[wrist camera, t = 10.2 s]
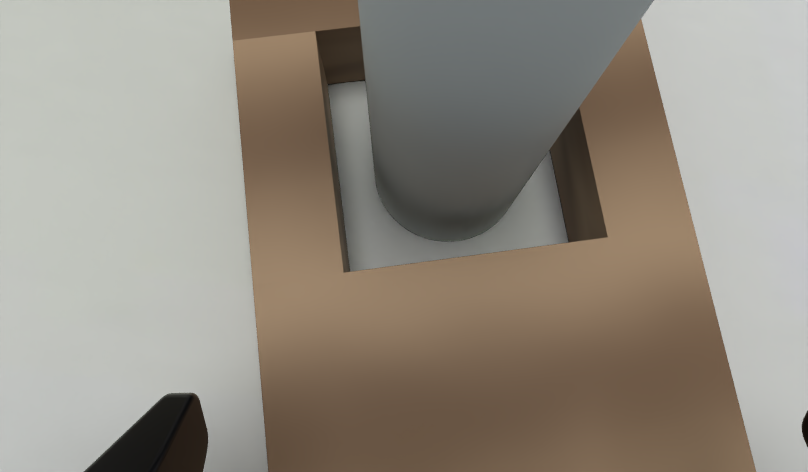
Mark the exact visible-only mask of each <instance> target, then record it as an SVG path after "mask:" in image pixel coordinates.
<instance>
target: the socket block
mask: <svg viewBox="0 0 808 472" xmlns="http://www.w3.org/2000/svg"><path fill="white" fill-rule="evenodd" d="M229 1H230V13H231V25H232V37H233V50H234V62H235V74H236V86H237V98H238V110H239V122H240V134H241V146H242V158H243V170H244V182H245V194H246V206H247V219H248V231H249V243H250V255H251V267H252V279H253V291H254V303H255V315H256V327H257V339H258V351H259V363H260V375H261V387H262V400H263V412H264V424H265V436H266V448H267V460H268V472H756V469H755V466H754V462H753V458H752V454H751V450H750V446H749V442H748V438H747V434H746V430H745V426H744V422H743V418H742V414H741V410H740V407H739V403H738V399H737V395H736V391H735V387H734V383H733V379H732V375H731V371H730V367H729V363H728V359H727V355H726V351H725V347H724V344H723V340H722V336H721V332H720V328H719V324H718V320H717V316H716V312H715V308H714V304H713V300H712V296H711V292H710V288H709V284H708V281H707V277H706V273H705V269H704V265H703V261H702V257H701V253H700V249H699V245H698V241H697V237H696V233H695V229H694V225H693V221H692V218H691V214H690V210H689V206H688V202H687V198H686V194H685V190H684V186H683V182H682V178H681V174H680V170H679V166H678V162H677V159H676V155H675V151H674V147H673V143H672V139H671V135H670V131H669V127H668V123H667V119H666V115H665V111H664V107H663V103H662V99H661V96H660V92H659V88H658V84H657V80H656V76H655V72H654V68H653V64H652V60H651V56H650V52H649V48H648V44H647V40H646V36H645V33H644V29H643V25H642V21H641V19H640V21H639V22H638V24H637V25H636V26H635V28H634V29H633V31H632V32H631V34H630V35H629V37H628V38H627V39H626V41H625V42H624V44H623V45H622V47H621V48H620V49H619V51H618V52H617V54H616V55H615V57H614V58H613V59H612V61H611V62H610V64H609V65H608V67H607V68H606V69H605V71H604V72H603V74H602V75H601V77H600V78H599V79H598V81H597V82H596V84H595V85H594V87H593V88H592V90H591V91H590V92H589V94H588V95H587V97H586V98H585V100H584V101H583V102H582V104H581V105H580V107H579V108H578V110H577V111H576V112H575V114H574V115H573V117H572V118H571V120H570V121H569V122H568V124H567V125H566V127H565V128H564V130H563V131H562V132H561V134H560V135H559V137H558V138H557V140H556V141H555V143H554V144H553V145H552V147H551V148H550V152H551V157H552V162H553V166H554V171H555V176H556V181H557V186H558V191H559V196H560V201H561V205H562V210H563V215H564V220H565V225H566V230H567V235H568V240H569V243H561V244H554V245H547V246H539V247H532V248H524V249H517V250H509V251H502V252H494V253H487V254H479V255H472V256H464V257H457V258H449V259H442V260H434V261H427V262H420V263H412V264H405V265H397V266H390V267H382V268H375V269H367V270H360V271H352V272H350V268H349V259H348V251H347V243H346V234H345V226H344V218H343V209H342V201H341V193H340V184H339V176H338V168H337V159H336V151H335V143H334V134H333V126H332V118H331V109H330V101H329V93H328V84H334V83H342V82H350V81H359V80H365V70H364V59H363V49H362V39H361V29H360V18H359V8H358V0H229Z"/></svg>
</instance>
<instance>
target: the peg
mask: <svg viewBox="0 0 808 472" xmlns="http://www.w3.org/2000/svg"><path fill="white" fill-rule="evenodd" d="M653 1H654V0H358V8H359V18H360V29H361V39H362V49H363V59H364V70H365V80H366V90H367V100H368V111H369V121H370V131H371V141H372V152H373V162H374V172H375V181H376V187H377V190H378V194H379V196H380V198H381V201H382V203H383V204H384V206H385V208H386V209H387V211H388V212H389V213H390V215H391V216H392V217H393V218H394V219H395V220H396V221H397V222H398V223H399V224H400V225H402V226H403V227H404V228H406V229H407V230H409V231H411V232H412V233H414V234H416V235H419V236H421V237H424V238H427V239H431V240H437V241H459V240H464V239H468V238H472V237H474V236H477V235H479V234H481V233H483V232H485V231H486V230H488V229H489V228H491V227H492V226H493V225H495V224H496V223H497V222H498V221H499V220H500V219H501V218H502V217H503V215H504V214H505V213H506V211H507V210H508V208H509V207H510V206H511V204H512V203H513V201H514V200H515V198H516V197H517V196H518V194H519V193H520V191H521V190H522V188H523V187H524V185H525V184H526V183H527V181H528V180H529V178H530V177H531V175H532V174H533V173H534V171H535V170H536V168H537V167H538V165H539V164H540V163H541V161H542V160H543V158H544V157H545V155H546V154H547V153H548V151H549V150H550V148H551V147H552V145H553V144H554V143H555V141H556V140H557V138H558V137H559V135H560V134H561V132H562V131H563V130H564V128H565V127H566V125H567V124H568V122H569V121H570V120H571V118H572V117H573V115H574V114H575V112H576V111H577V110H578V108H579V107H580V105H581V104H582V102H583V101H584V100H585V98H586V97H587V95H588V94H589V92H590V91H591V90H592V88H593V87H594V85H595V84H596V82H597V81H598V79H599V78H600V77H601V75H602V74H603V72H604V71H605V69H606V68H607V67H608V65H609V64H610V62H611V61H612V59H613V58H614V57H615V55H616V54H617V52H618V51H619V49H620V48H621V47H622V45H623V44H624V42H625V41H626V39H627V38H628V37H629V35H630V34H631V32H632V31H633V29H634V28H635V26H636V25H637V24H638V22H639V21H640V19H641V18H642V16H643V15H644V14H645V12H646V11H647V9H648V8H649V6H650V5H651V4H652V2H653Z"/></svg>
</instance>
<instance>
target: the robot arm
mask: <svg viewBox="0 0 808 472" xmlns="http://www.w3.org/2000/svg"><path fill="white" fill-rule="evenodd" d="M802 433H803V437H804V440H805V442H806V444H807V447H808V411H807V413H806V415H805V417H804V419H803V422H802ZM207 447H208V432H207V428H206V424H205V420H204V416H203V412H202V408H201V404H200V400H199V398H198V396H197V395H196V394H194V393H170V394H167V395H165V396H164V397H162V398H161V399H160V400H159V401H158V402H157V403H156V404H155V405H154V406H153V407H152V408H151V409H150V410H149V411H148V412H146V413H145V414H144V415H143V416H142V417H141V418H140V419H139V420H138V421H137V422H136V423H135V424H134V425H133V426H132V427H131V428H130V429H129V430H127V431H126V432H125V433H124V434H123V435H122V436H121V437H120V438H119V439H118V440H117V441H116V442H115V443H114V444H113V445H112V446H111V447H110V448H108V449H107V450H106V451H105V452H104V453H103V454H102V455H101V456H100V457H99V458H98V459H97V460H96V461H95V462H94V463H93V464H92V465H91V466H89V467H88V468H87V469H86V470H85V471H84V472H203V469H204V464H205V458H206V453H207Z"/></svg>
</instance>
